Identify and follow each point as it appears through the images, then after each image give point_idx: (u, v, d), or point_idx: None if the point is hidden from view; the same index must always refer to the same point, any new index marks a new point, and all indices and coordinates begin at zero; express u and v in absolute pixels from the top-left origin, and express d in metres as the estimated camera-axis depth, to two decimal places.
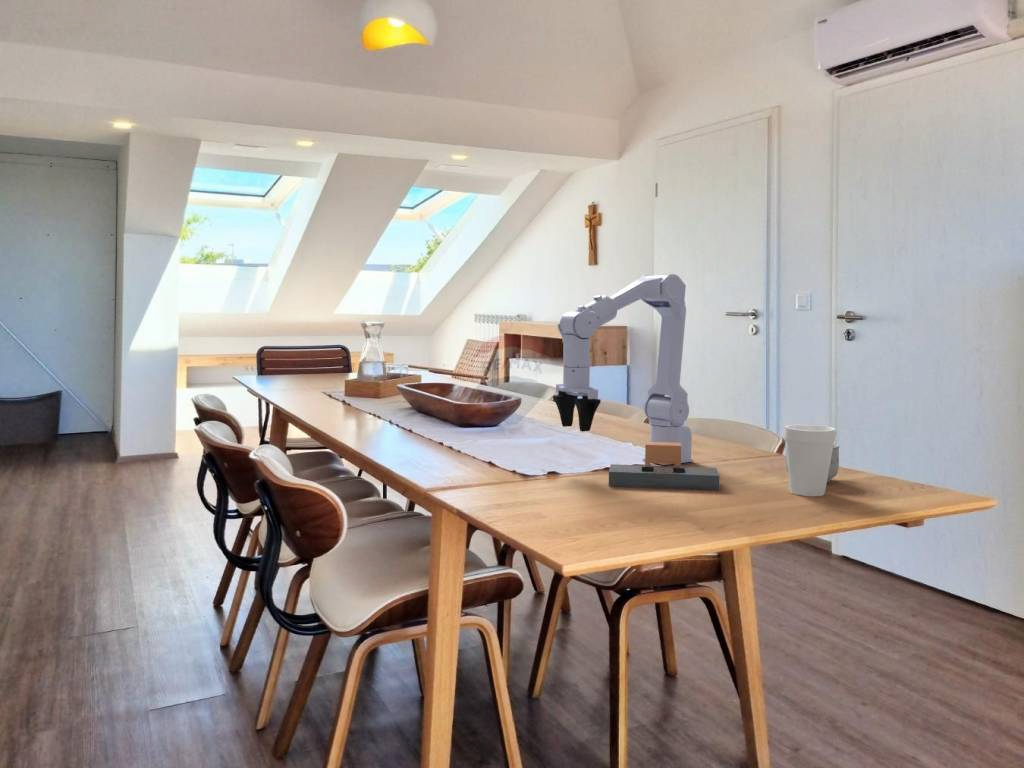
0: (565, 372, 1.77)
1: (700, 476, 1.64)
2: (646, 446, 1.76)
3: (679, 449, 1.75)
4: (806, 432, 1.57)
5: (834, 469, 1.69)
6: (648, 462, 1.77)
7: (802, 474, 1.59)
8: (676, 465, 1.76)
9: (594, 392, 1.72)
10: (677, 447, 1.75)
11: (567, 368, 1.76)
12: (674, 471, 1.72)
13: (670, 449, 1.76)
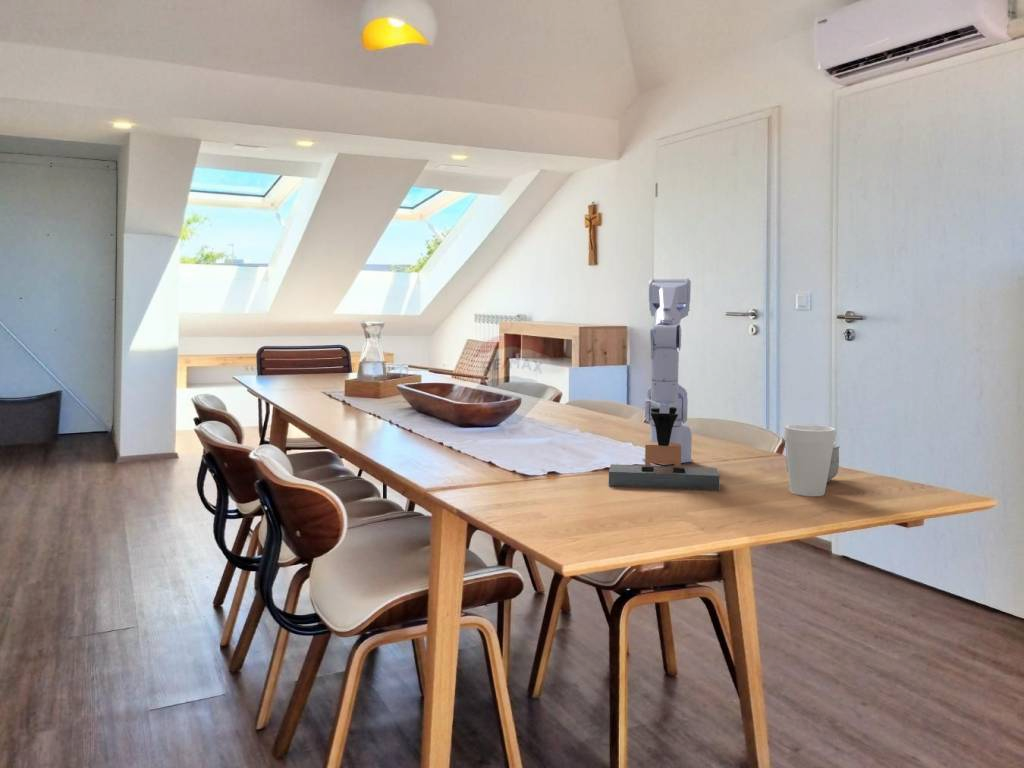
0: (651, 385, 1.77)
1: (700, 476, 1.64)
2: (646, 446, 1.76)
3: (679, 449, 1.75)
4: (806, 432, 1.57)
5: (834, 469, 1.69)
6: (648, 462, 1.77)
7: (802, 474, 1.59)
8: (676, 465, 1.76)
9: (665, 407, 1.70)
10: (677, 447, 1.75)
11: (651, 381, 1.76)
12: (674, 471, 1.72)
13: (670, 449, 1.76)
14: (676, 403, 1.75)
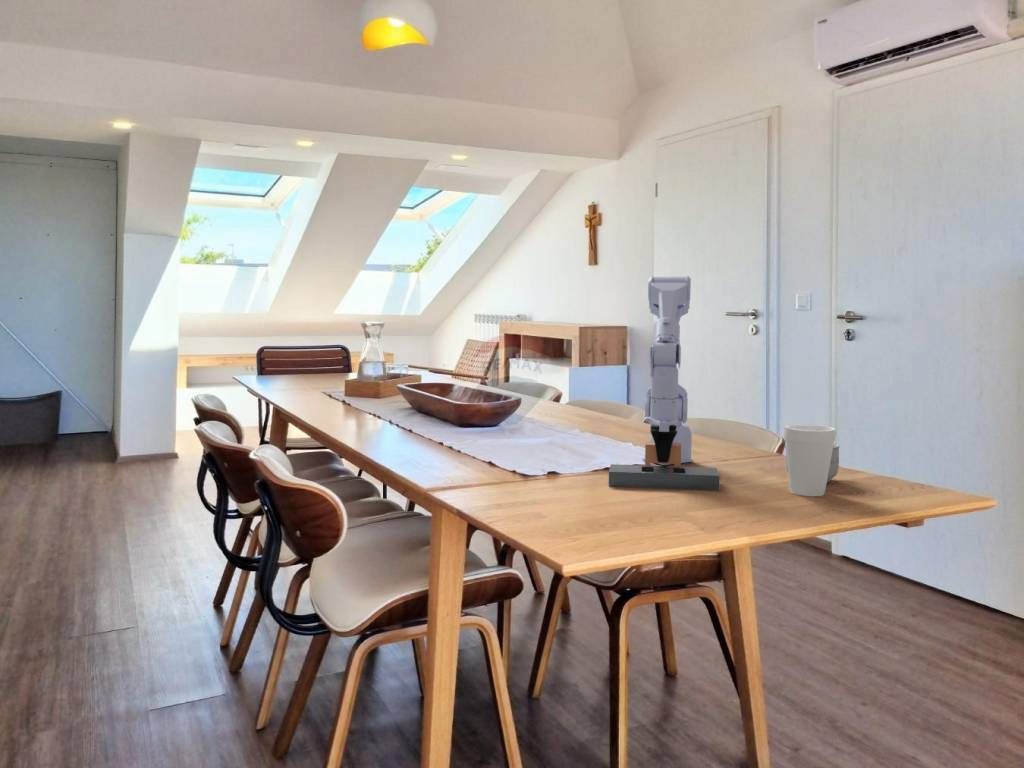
0: (650, 402, 1.77)
1: (700, 476, 1.64)
2: (646, 446, 1.76)
3: (679, 449, 1.75)
4: (806, 432, 1.57)
5: (834, 469, 1.69)
6: (648, 462, 1.77)
7: (802, 474, 1.59)
8: (676, 465, 1.76)
9: (664, 425, 1.70)
10: (677, 447, 1.75)
11: (651, 399, 1.77)
12: (674, 471, 1.72)
13: None
14: (676, 421, 1.75)
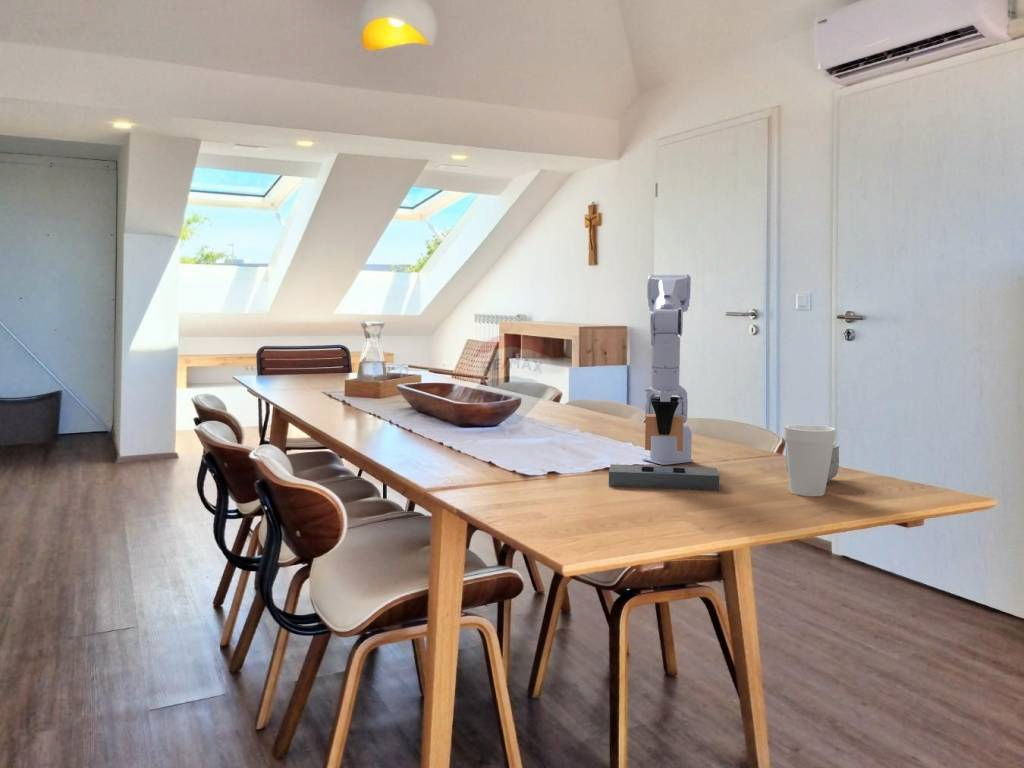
0: (651, 372, 1.69)
1: (700, 476, 1.64)
2: (646, 418, 1.68)
3: (681, 421, 1.67)
4: (806, 432, 1.57)
5: (834, 469, 1.69)
6: (648, 435, 1.68)
7: (802, 474, 1.59)
8: (678, 438, 1.67)
9: (665, 394, 1.62)
10: (679, 419, 1.67)
11: (651, 368, 1.68)
12: (674, 471, 1.72)
13: (672, 421, 1.67)
14: (677, 391, 1.67)
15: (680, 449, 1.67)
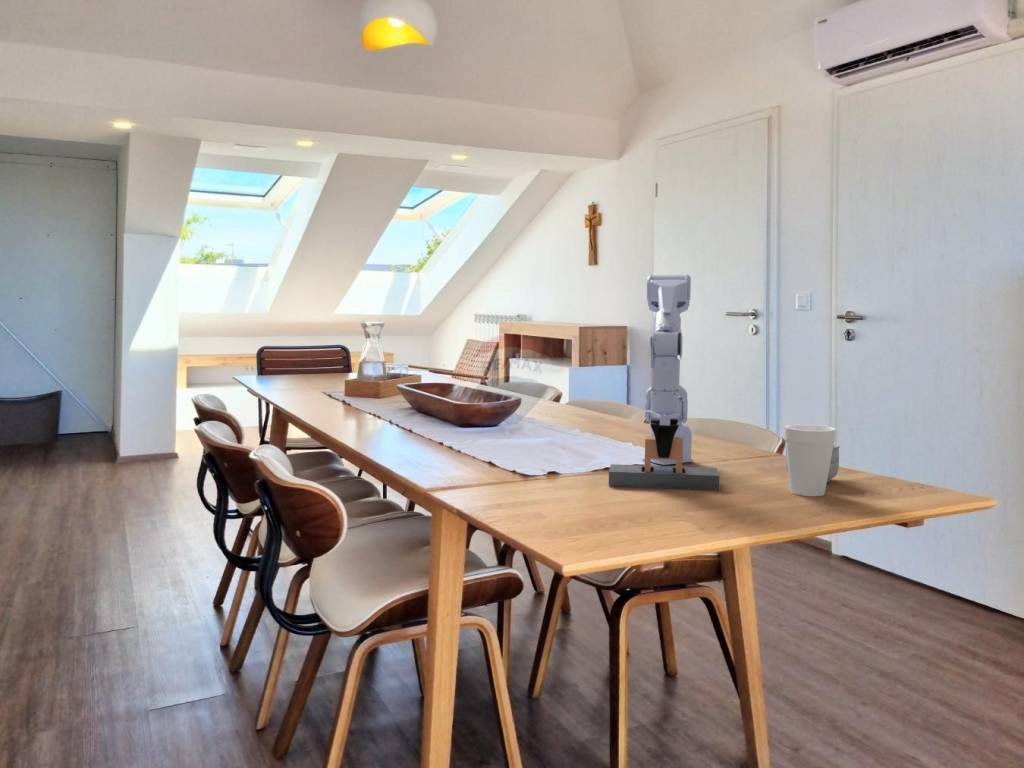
0: (650, 395, 1.68)
1: (700, 476, 1.64)
2: (646, 441, 1.67)
3: (681, 444, 1.66)
4: (806, 432, 1.57)
5: (834, 469, 1.69)
6: (648, 458, 1.68)
7: (802, 474, 1.59)
8: (677, 461, 1.67)
9: (665, 418, 1.61)
10: (679, 442, 1.66)
11: (651, 391, 1.67)
12: (674, 471, 1.72)
13: (672, 444, 1.67)
14: (677, 414, 1.66)
15: (680, 472, 1.67)
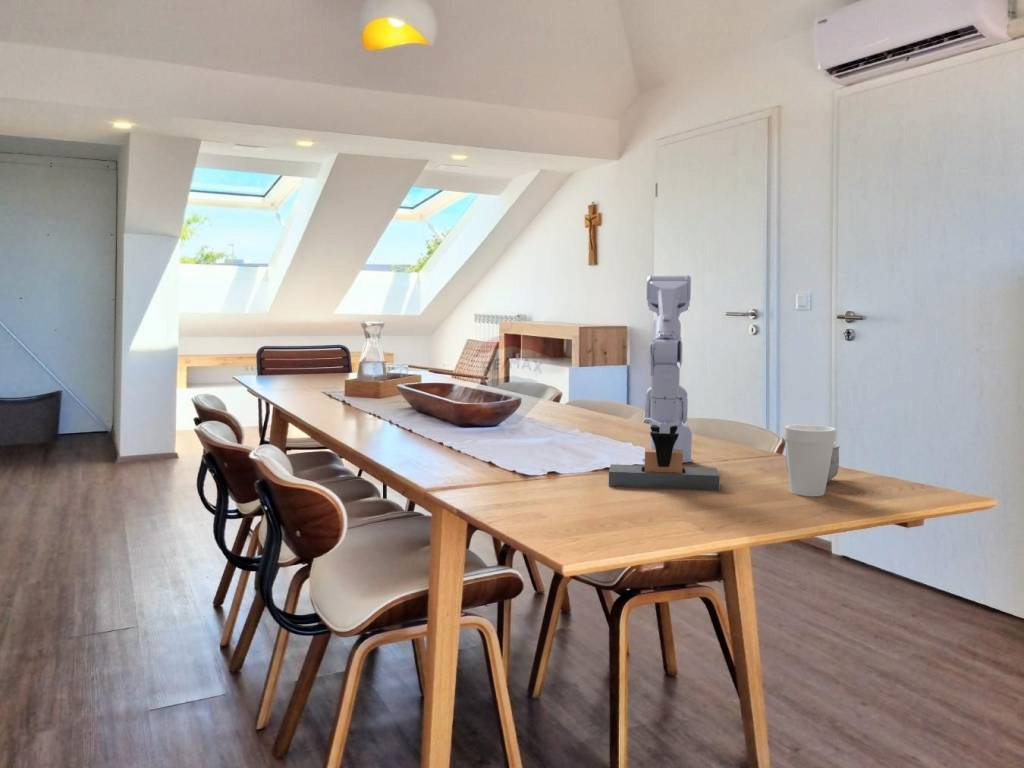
0: (650, 403, 1.68)
1: (700, 476, 1.64)
2: (646, 453, 1.68)
3: (680, 456, 1.66)
4: (806, 432, 1.57)
5: (834, 469, 1.69)
6: (648, 470, 1.68)
7: (802, 474, 1.59)
8: None
9: (665, 426, 1.61)
10: (678, 454, 1.67)
11: (651, 399, 1.68)
12: None
13: (671, 457, 1.67)
14: (677, 422, 1.66)
15: None
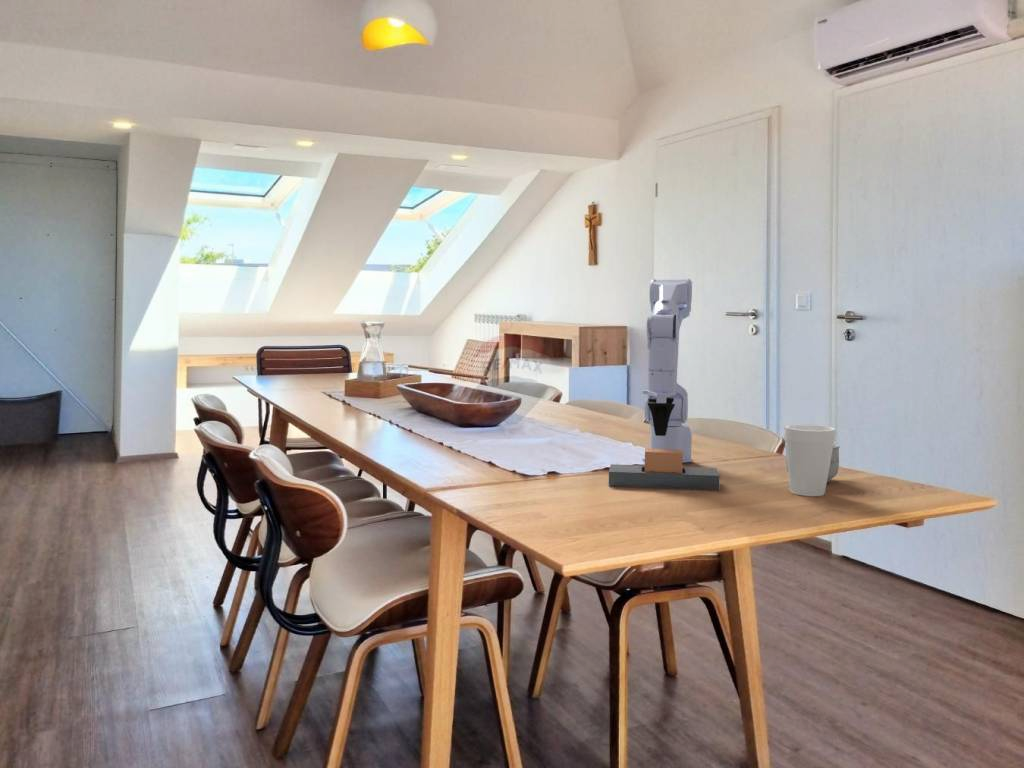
0: (648, 375, 1.76)
1: (700, 476, 1.64)
2: (646, 453, 1.68)
3: (680, 456, 1.66)
4: (806, 432, 1.57)
5: (834, 469, 1.69)
6: (648, 470, 1.68)
7: (802, 474, 1.59)
8: None
9: (661, 396, 1.69)
10: (678, 454, 1.67)
11: (648, 371, 1.76)
12: None
13: (671, 457, 1.67)
14: (673, 393, 1.74)
15: None
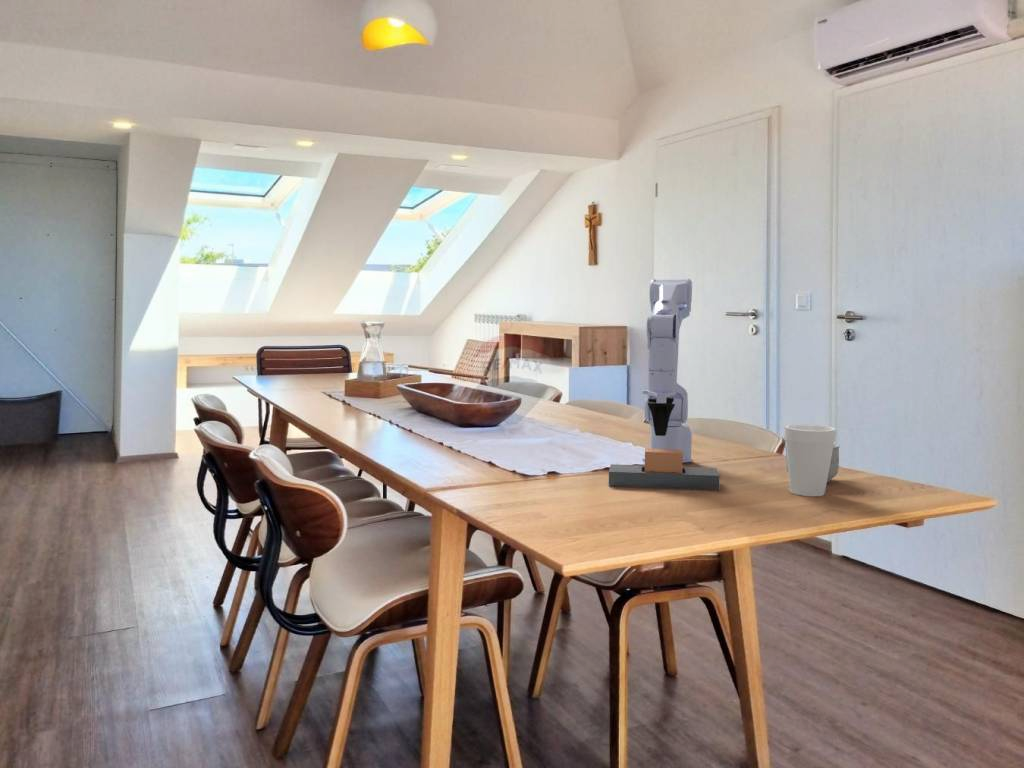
0: (648, 375, 1.76)
1: (700, 476, 1.64)
2: (646, 453, 1.68)
3: (680, 456, 1.66)
4: (806, 432, 1.57)
5: (834, 469, 1.69)
6: (648, 470, 1.68)
7: (802, 474, 1.59)
8: None
9: (661, 396, 1.69)
10: (678, 454, 1.67)
11: (648, 371, 1.76)
12: None
13: (671, 457, 1.67)
14: (673, 393, 1.74)
15: None
